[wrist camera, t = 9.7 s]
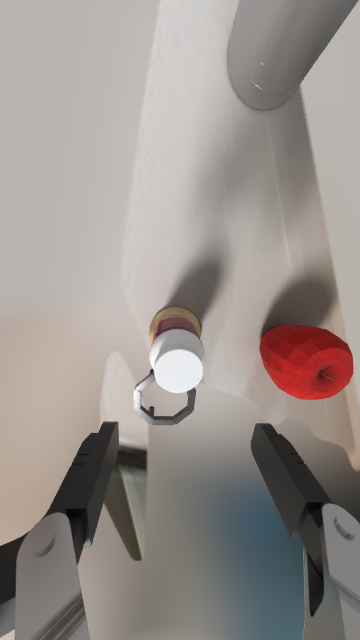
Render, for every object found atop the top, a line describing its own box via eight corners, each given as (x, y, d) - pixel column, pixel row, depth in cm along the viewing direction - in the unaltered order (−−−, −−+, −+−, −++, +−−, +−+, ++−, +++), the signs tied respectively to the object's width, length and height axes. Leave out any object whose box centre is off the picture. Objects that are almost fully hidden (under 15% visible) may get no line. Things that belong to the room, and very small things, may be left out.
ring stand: (136, 364, 28) (134, 373, 26) (195, 366, 29) (197, 374, 27) (136, 413, 31) (133, 424, 28) (190, 414, 32) (191, 425, 29)
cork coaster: (150, 305, 26) (150, 306, 25) (202, 308, 26) (203, 309, 26) (148, 353, 28) (148, 355, 27) (197, 355, 29) (198, 357, 28)
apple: (235, 352, 29) (273, 397, 18) (270, 303, 27) (335, 323, 17) (278, 376, 31) (335, 430, 20) (314, 332, 29) (397, 367, 18)
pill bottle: (150, 317, 26) (136, 348, 15) (190, 308, 26) (205, 333, 15) (160, 354, 27) (154, 405, 17) (198, 345, 27) (216, 391, 17)
